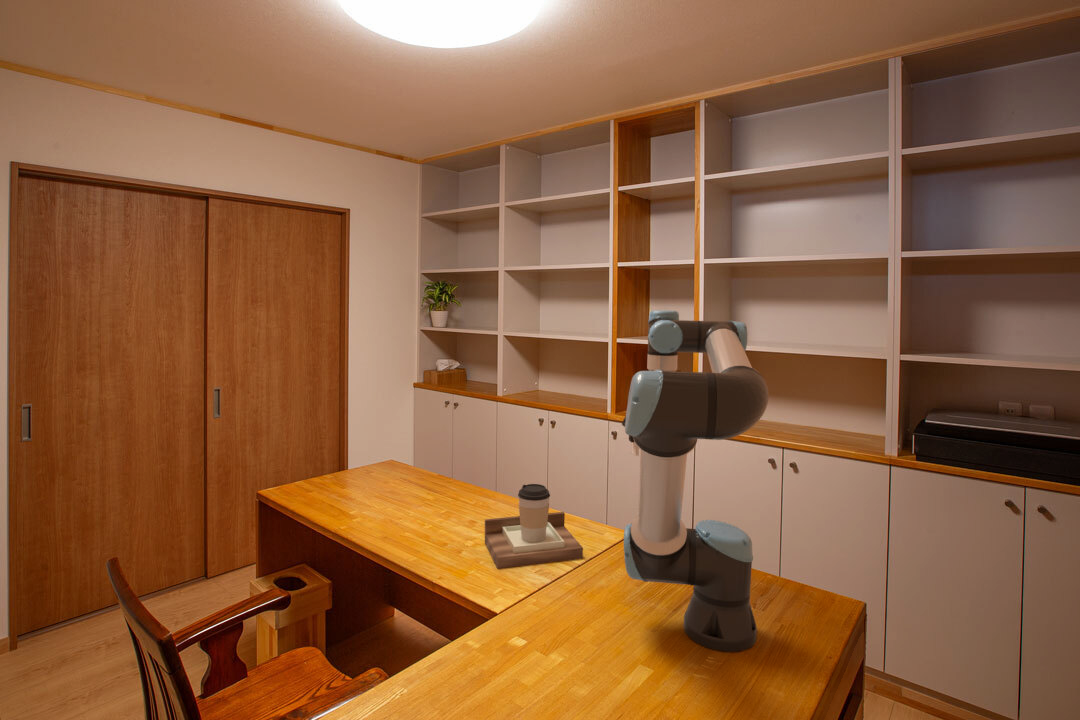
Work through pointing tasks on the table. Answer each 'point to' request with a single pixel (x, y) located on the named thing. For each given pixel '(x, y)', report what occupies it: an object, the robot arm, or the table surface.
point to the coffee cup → (533, 512)
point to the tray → (519, 545)
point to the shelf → (508, 558)
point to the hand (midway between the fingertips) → (659, 452)
